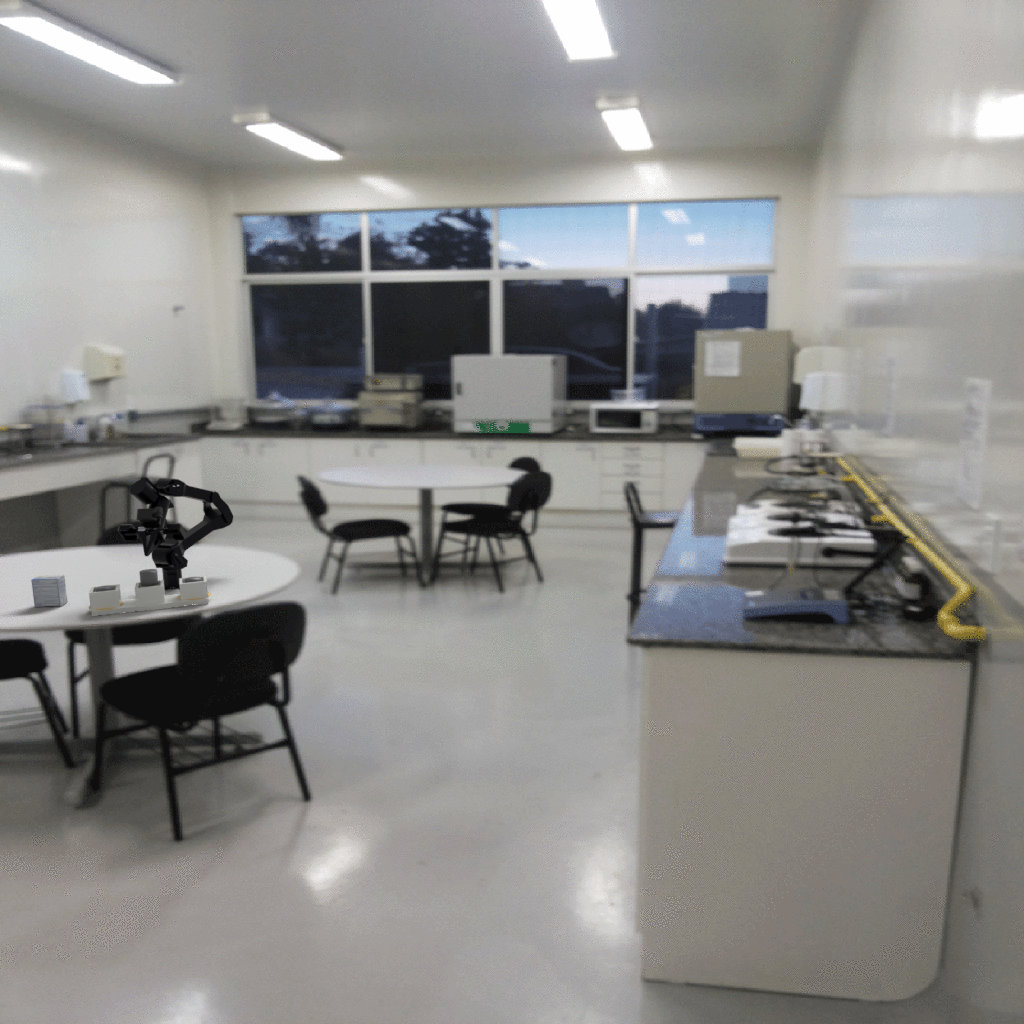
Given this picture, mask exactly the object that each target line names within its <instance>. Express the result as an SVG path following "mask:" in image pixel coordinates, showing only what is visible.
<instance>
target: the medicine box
mask: <svg viewBox="0 0 1024 1024" xmlns="http://www.w3.org/2000/svg"><path fill="white" fill-rule="evenodd" d="M65 577H66V576H65V575H64V574H61V575H60V574H55V575H54V574H52V575H37V576H36V577H33V578H32V579H30V581H31V588H32V589H31V590H32V597H33V604H34V605H33V606H34V608H45V607H44V606H54V607H62V605H63V606H64V605H65V603H66V604H67V603H68V602H69V601H68V593H67V585H66V578H65Z"/></svg>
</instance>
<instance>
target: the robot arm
mask: <svg viewBox="0 0 1024 1024" xmlns="http://www.w3.org/2000/svg"><path fill="white" fill-rule="evenodd" d="M129 493H130V494H131V495H132V496H133V497H134V498H135V499H136V500H137V501H139V502H140V503H141V504H142V505H143V506H147V505H148V507H147V508H137V510H136V520H137V521H139V525H140V526H138V527H137V528H136V527H135V525H134V524H133V523H125V524H124V523H122V524H119V526H118V527H117V533H118V535H119V536H120V537H121V539H122V541H124V542H136V541H137V540H138V539H139V541H140V542H141V543H142V550H143V555H144V556H145V557H149V556H151V559H152V562H153V563H154V566H155V569H161V571H162V580H164V590H170V589H180V585H179V578H183V572H182V569H185V568H187V567H188V562H189V560H188V559H187V558H186V557H185V552H186V551H188V549H190V548H192V547H193V546H194V545H196V544H197V543H199V542H200V541H201V540H203V539H204V538H205V537H207V536H208V535H210V534H211V533H212V532H214V531H218V530H222V529H225V528H226V527H229V526H231V525H232V523H233V520H234V514H233V513H232V510H231V509H230V506H229V505H228V504H227V502H225V501H224V500H223V498H222V497H221V495H220V494H219V492H217V491H215V490H209V489H204V488H200V487H197V486H191V485H188V484H186V482H185V481H183V480H181V479H178V478H167V477H164V478H163V477H161V478H159V479H158V480H157V481H156V482H154V483H153V482H152V481H151V480H150V479H149V478H148V477H147V476H144V477H143V476H142V477H140V479H139V480H137V481H135V482H134V483H133V484H131V486H130V488H129ZM167 497H172V498H181V497H182V498H186V499H189V500H190V499H191V500H196V501H200V502H201V503H202V504H203V507H202V510H203V513H204V514H203V518H202V520H201V521H200V522H198V523H197V524H196V525H194V526H193V527H191V528H190V529H188V530H187V531H186V530H185V529H184V526H183V525H182V524H181V522H175V523H174V522H173V523H171V522H168V519H167V515H168V511H169V509H173V508H175V505H174V503H173V502H172V499H170V498H167ZM212 504H213V506H214V507H215V508H214V507H212ZM165 524H166V527H165ZM167 535H172V539H171V538H166V537H167Z"/></svg>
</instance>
